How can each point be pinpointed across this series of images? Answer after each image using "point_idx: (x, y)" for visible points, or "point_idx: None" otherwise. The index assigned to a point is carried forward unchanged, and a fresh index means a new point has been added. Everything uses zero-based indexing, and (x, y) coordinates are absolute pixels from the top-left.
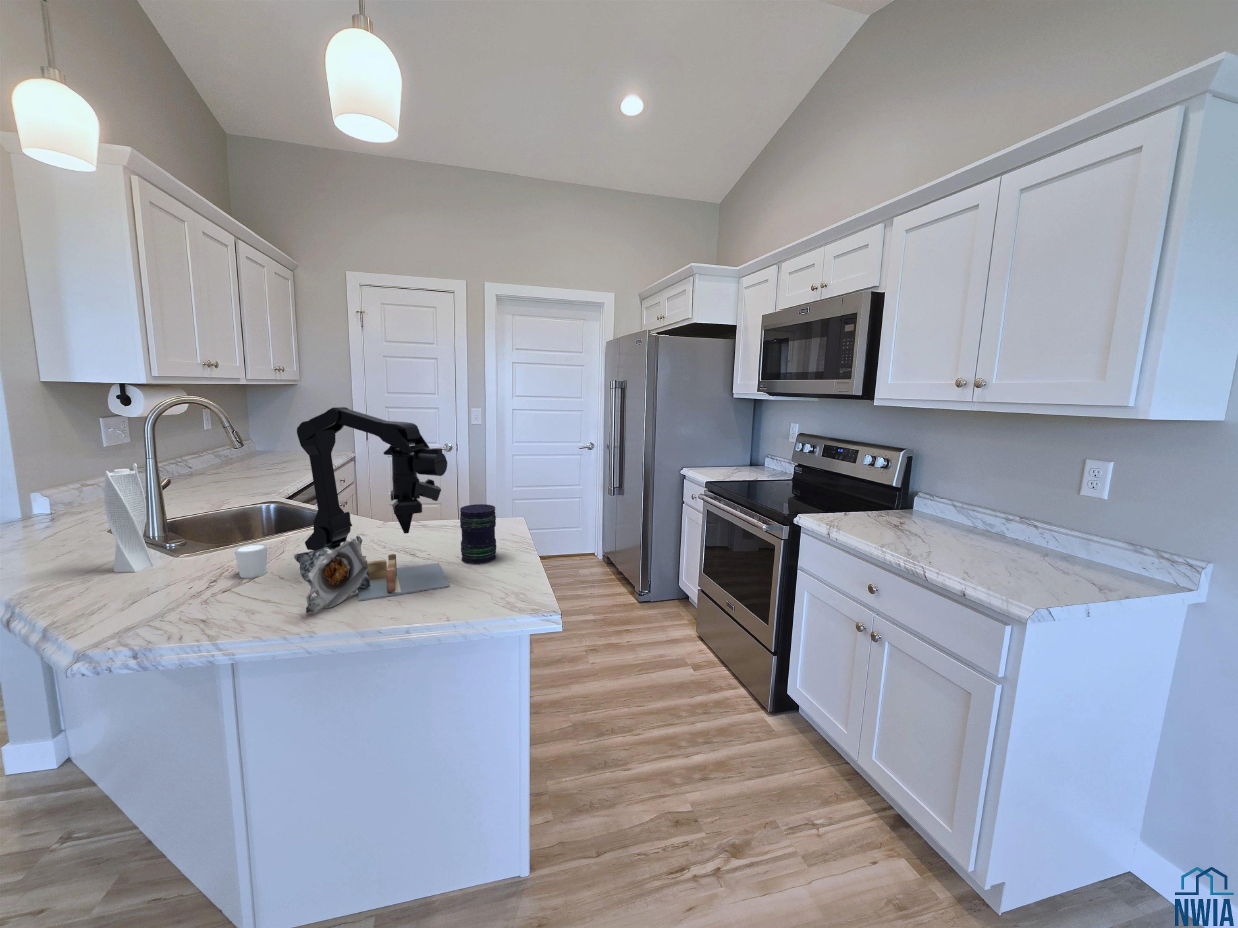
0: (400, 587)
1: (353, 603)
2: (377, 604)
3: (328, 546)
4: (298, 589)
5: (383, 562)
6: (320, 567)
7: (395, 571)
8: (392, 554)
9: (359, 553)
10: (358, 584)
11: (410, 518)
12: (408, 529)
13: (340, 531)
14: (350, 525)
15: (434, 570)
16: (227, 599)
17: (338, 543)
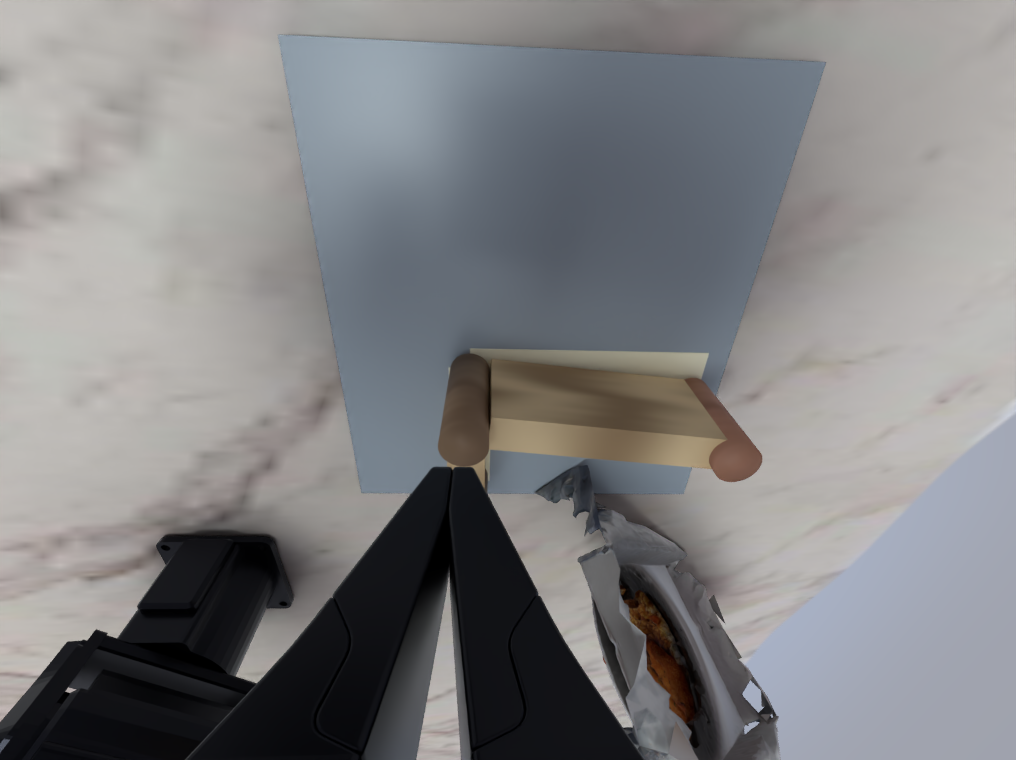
0: (654, 349)
1: (688, 501)
2: (762, 436)
3: (222, 682)
4: (450, 619)
5: (484, 465)
6: (767, 748)
7: (537, 386)
8: (446, 443)
9: (646, 661)
10: (622, 521)
11: (570, 675)
12: (486, 504)
13: (160, 752)
14: (58, 756)
15: (464, 113)
16: (455, 710)
17: (153, 654)
